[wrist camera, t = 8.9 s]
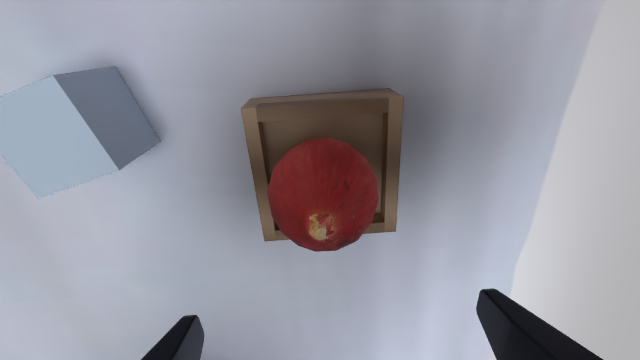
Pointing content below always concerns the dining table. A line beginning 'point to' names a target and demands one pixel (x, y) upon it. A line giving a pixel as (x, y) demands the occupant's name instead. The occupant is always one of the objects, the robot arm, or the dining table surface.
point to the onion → (323, 194)
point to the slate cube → (72, 129)
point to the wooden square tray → (334, 122)
